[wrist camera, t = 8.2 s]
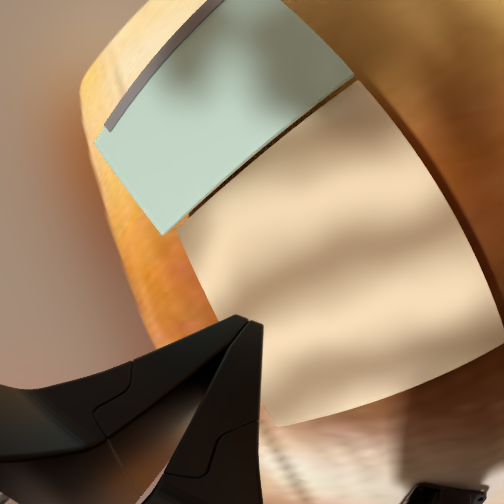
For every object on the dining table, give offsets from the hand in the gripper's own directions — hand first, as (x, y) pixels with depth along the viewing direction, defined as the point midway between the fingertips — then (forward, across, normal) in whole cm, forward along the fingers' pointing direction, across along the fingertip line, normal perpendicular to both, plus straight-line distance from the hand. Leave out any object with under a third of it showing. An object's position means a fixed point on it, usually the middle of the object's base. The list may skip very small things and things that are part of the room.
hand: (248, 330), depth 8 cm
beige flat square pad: (+10, -2, +3) cm, 11 cm away
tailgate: (+11, +5, -2) cm, 12 cm away
